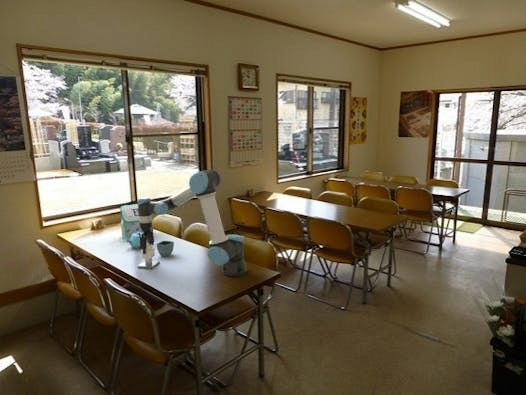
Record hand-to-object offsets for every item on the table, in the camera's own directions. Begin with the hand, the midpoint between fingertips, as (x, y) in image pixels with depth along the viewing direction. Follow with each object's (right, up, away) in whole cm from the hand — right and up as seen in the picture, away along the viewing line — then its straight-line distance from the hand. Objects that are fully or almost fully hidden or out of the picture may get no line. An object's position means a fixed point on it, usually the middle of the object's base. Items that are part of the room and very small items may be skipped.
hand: (148, 256), depth 247 cm
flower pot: (+6, -2, +20) cm, 21 cm away
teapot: (-18, +1, +38) cm, 42 cm away
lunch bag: (-27, +6, +62) cm, 68 cm away
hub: (0, -6, +1) cm, 6 cm away
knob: (0, 0, 0) cm, 0 cm away
